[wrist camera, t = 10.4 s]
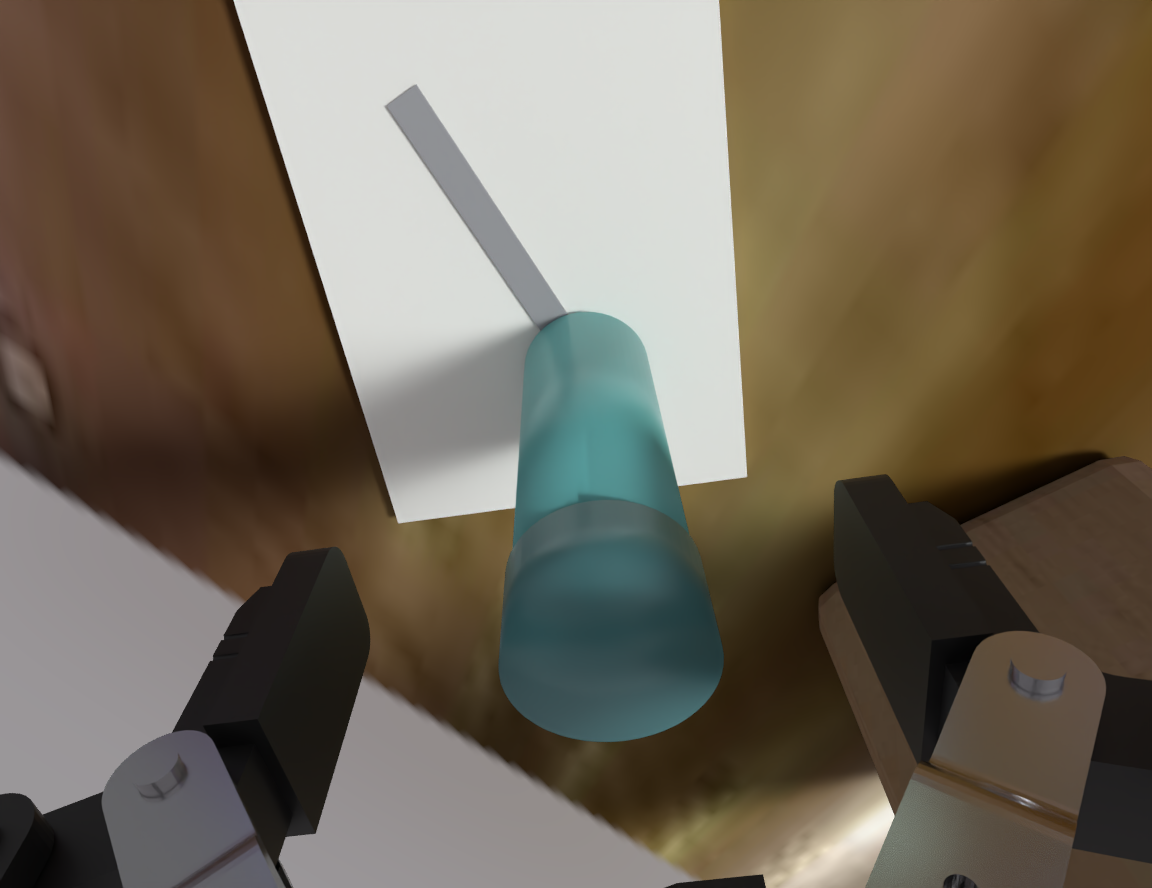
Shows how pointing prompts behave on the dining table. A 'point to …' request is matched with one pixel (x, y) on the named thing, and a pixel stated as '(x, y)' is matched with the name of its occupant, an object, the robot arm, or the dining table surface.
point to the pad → (508, 214)
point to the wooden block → (1040, 611)
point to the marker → (601, 548)
